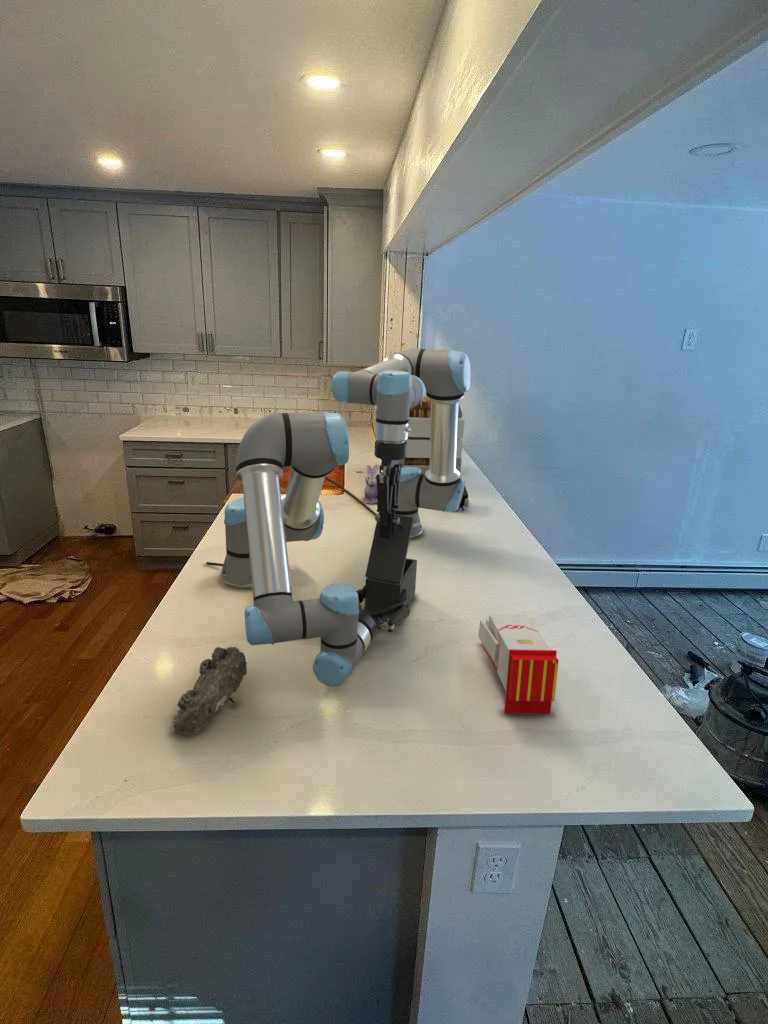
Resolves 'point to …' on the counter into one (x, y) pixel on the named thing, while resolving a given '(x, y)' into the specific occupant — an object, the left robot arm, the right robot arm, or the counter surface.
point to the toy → (521, 662)
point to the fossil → (211, 689)
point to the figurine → (371, 485)
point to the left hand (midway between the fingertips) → (386, 590)
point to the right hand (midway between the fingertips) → (386, 535)
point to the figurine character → (464, 500)
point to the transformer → (426, 436)
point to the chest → (390, 589)
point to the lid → (390, 551)
